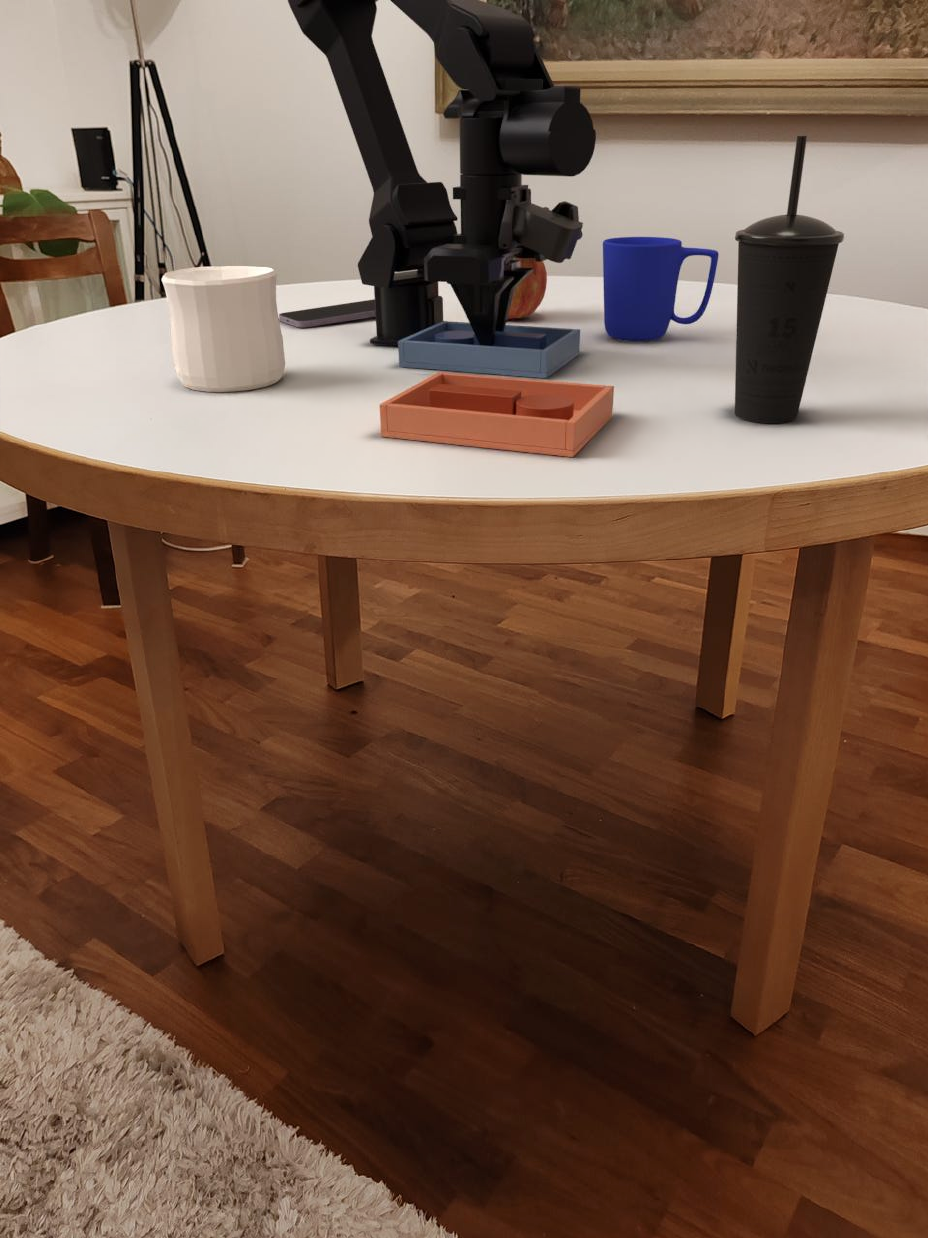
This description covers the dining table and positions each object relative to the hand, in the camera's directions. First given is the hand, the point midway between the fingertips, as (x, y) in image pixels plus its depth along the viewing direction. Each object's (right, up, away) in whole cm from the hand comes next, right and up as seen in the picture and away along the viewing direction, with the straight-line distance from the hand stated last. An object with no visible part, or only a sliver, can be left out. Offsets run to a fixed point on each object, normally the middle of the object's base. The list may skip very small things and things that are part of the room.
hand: (491, 346), depth 95 cm
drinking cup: (+21, -11, -19) cm, 31 cm away
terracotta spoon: (0, -12, -21) cm, 24 cm away
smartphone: (-18, +10, +23) cm, 31 cm away
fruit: (+3, +9, +22) cm, 24 cm away
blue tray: (0, -1, +1) cm, 1 cm away
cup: (-25, -5, -6) cm, 26 cm away
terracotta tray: (0, -12, -21) cm, 24 cm away
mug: (+18, +3, +9) cm, 21 cm away
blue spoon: (0, -1, +1) cm, 1 cm away
